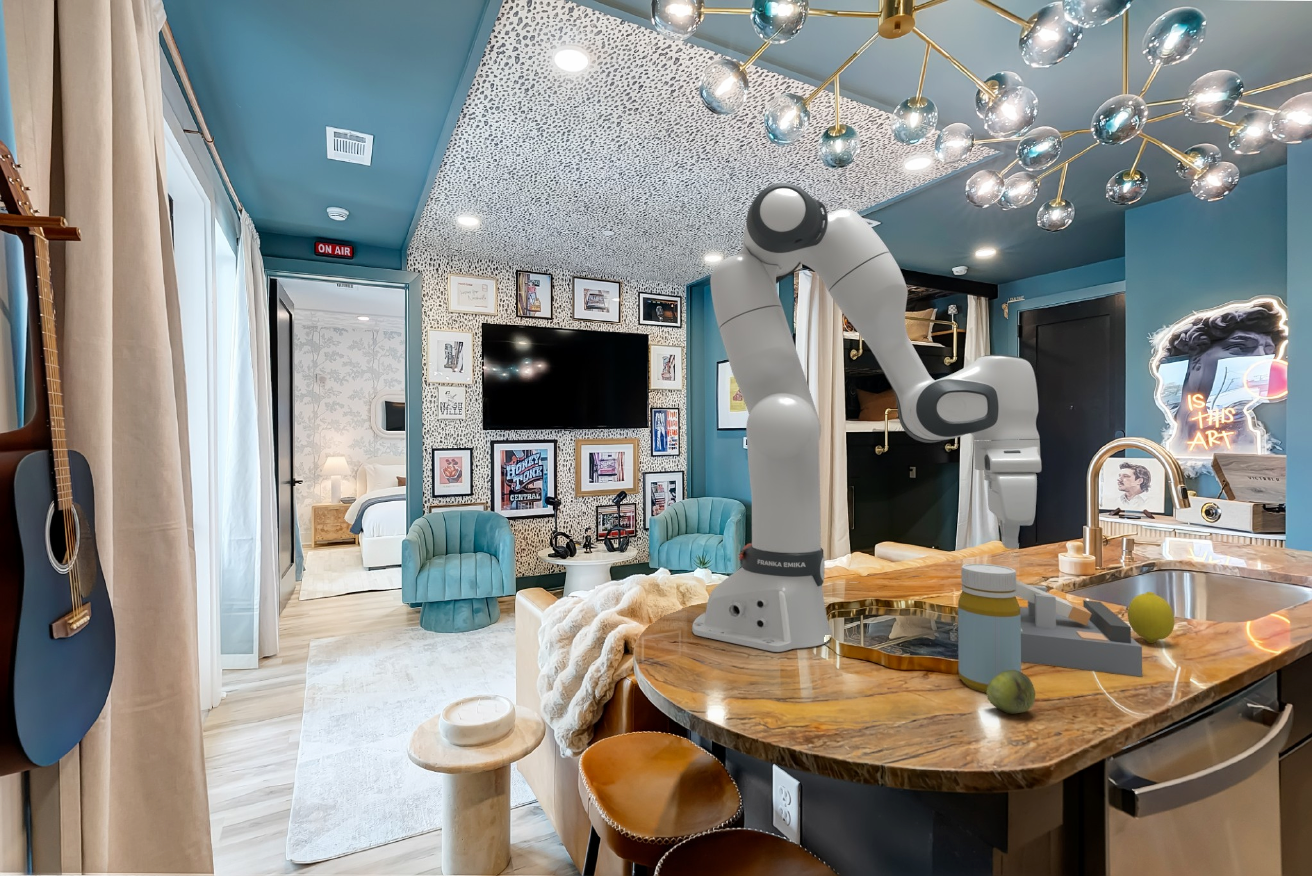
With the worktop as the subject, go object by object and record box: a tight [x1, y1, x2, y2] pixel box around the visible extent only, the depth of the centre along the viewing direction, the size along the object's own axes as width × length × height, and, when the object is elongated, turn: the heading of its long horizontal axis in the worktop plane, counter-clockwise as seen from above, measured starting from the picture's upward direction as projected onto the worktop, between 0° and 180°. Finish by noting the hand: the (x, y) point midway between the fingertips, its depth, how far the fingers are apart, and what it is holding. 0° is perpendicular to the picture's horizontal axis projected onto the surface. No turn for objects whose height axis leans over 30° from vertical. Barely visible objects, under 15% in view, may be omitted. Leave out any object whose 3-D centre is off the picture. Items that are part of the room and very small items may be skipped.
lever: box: [1016, 579, 1092, 625], centre depth 89 cm, size 12×4×2 cm, turn 66°
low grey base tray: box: [1020, 584, 1143, 677], centre depth 89 cm, size 20×16×9 cm
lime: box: [985, 670, 1036, 715], centre depth 68 cm, size 4×5×5 cm
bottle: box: [957, 563, 1022, 694], centre depth 76 cm, size 7×7×15 cm
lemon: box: [1127, 591, 1175, 644], centre depth 91 cm, size 6×6×8 cm
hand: (1009, 547), depth 91 cm, fingers closed
